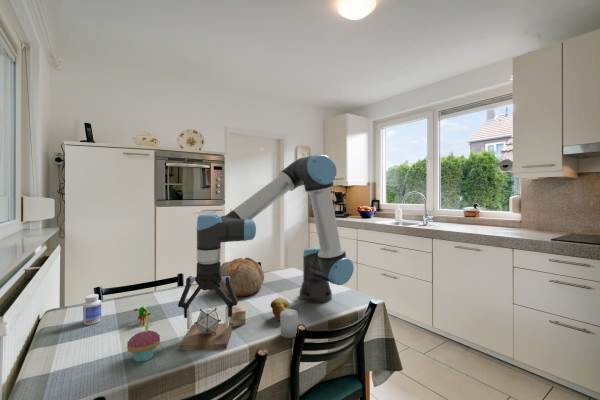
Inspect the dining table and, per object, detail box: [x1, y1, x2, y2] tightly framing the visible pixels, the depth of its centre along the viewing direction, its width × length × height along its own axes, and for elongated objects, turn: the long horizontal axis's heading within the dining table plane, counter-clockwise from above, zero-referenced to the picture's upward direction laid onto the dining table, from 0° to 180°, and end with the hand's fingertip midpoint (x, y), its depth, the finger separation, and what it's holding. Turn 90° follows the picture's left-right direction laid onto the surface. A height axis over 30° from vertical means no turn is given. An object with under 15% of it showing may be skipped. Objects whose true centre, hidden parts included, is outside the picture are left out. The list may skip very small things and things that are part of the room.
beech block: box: [229, 305, 247, 327], centre depth 107 cm, size 5×5×5 cm
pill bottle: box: [82, 293, 102, 326], centre depth 105 cm, size 5×5×10 cm
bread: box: [219, 257, 265, 298], centre depth 144 cm, size 26×23×15 cm
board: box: [179, 322, 234, 351], centre depth 95 cm, size 14×14×2 cm
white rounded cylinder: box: [279, 308, 299, 339], centre depth 98 cm, size 6×6×7 cm
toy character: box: [132, 306, 153, 327], centre depth 105 cm, size 11×12×7 cm
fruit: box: [270, 297, 291, 321], centre depth 110 cm, size 8×8×8 cm
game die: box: [193, 307, 222, 336], centre depth 95 cm, size 9×8×10 cm
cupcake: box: [126, 312, 161, 363], centre depth 83 cm, size 9×8×12 cm
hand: (208, 326), depth 95 cm, fingers open, 12 cm apart
